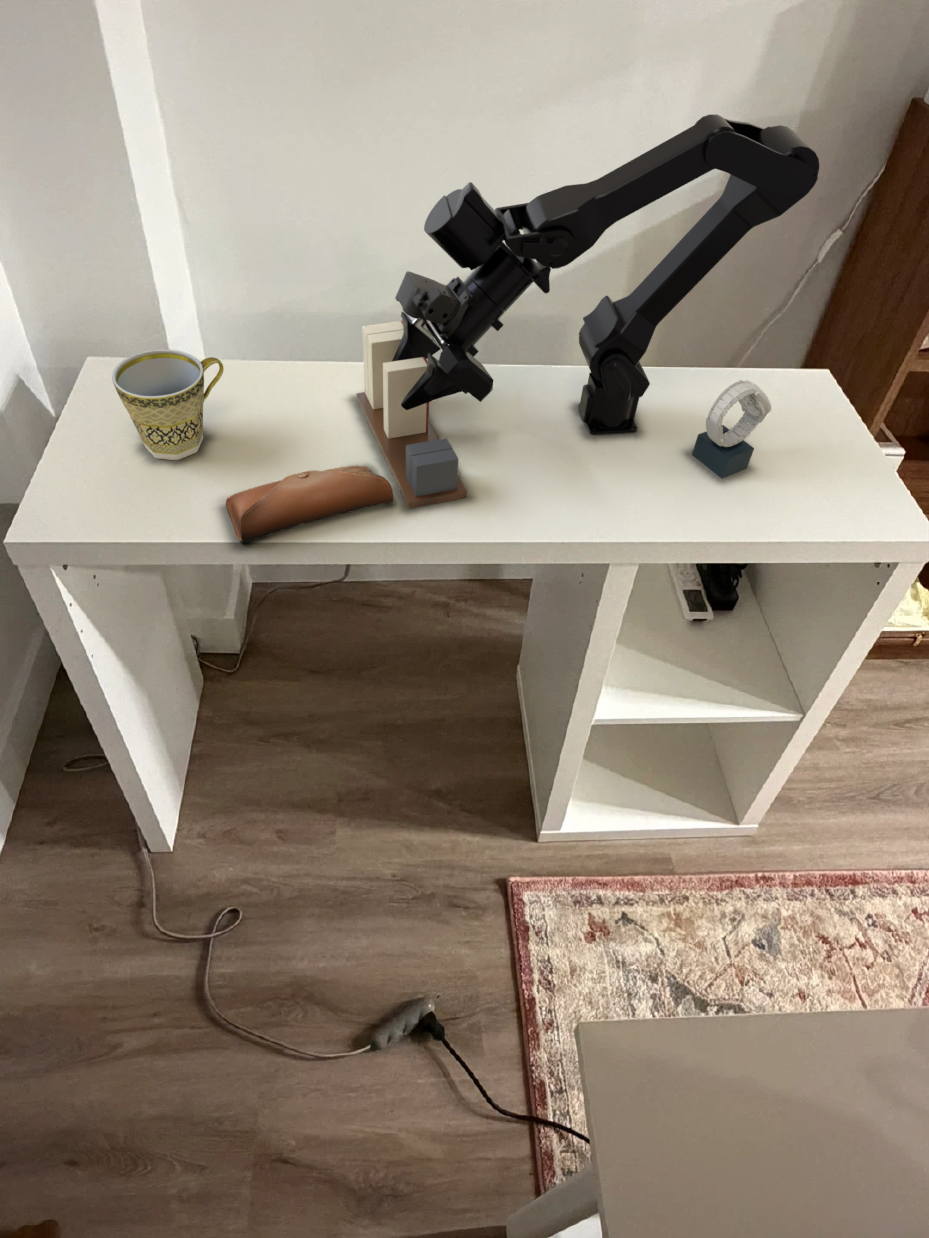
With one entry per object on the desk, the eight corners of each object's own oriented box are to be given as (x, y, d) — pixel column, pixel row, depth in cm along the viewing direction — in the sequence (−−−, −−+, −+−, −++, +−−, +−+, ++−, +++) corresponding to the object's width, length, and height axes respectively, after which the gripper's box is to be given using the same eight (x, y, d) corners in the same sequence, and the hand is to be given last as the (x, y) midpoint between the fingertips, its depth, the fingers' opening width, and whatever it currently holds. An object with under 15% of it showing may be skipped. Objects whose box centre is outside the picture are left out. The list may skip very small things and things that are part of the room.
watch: (757, 464, 109) (786, 389, 101) (711, 483, 106) (737, 407, 98) (726, 440, 112) (752, 365, 104) (681, 458, 109) (704, 382, 101)
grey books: (445, 468, 104) (446, 437, 100) (456, 489, 101) (458, 458, 98) (405, 475, 102) (405, 444, 99) (416, 497, 100) (416, 466, 96)
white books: (402, 386, 115) (402, 320, 108) (411, 403, 112) (412, 337, 105) (364, 392, 113) (362, 326, 106) (373, 410, 111) (371, 343, 104)
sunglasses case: (366, 461, 104) (376, 438, 98) (386, 514, 103) (397, 494, 97) (220, 499, 98) (220, 477, 92) (240, 555, 97) (242, 537, 91)
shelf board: (408, 391, 116) (408, 385, 115) (466, 497, 102) (467, 491, 101) (356, 399, 114) (356, 393, 113) (408, 508, 100) (408, 502, 99)
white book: (422, 423, 109) (424, 356, 102) (428, 432, 108) (430, 365, 101) (383, 429, 108) (382, 362, 101) (388, 439, 107) (387, 372, 100)
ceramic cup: (157, 480, 101) (138, 408, 93) (117, 439, 105) (96, 366, 98) (253, 440, 107) (242, 369, 99) (211, 402, 111) (198, 332, 104)
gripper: (413, 214, 98) (325, 318, 103) (473, 290, 86) (370, 402, 91) (473, 273, 106) (389, 367, 111) (535, 350, 94) (438, 450, 99)
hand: (395, 393), depth 103 cm, fingers open, 6 cm apart
